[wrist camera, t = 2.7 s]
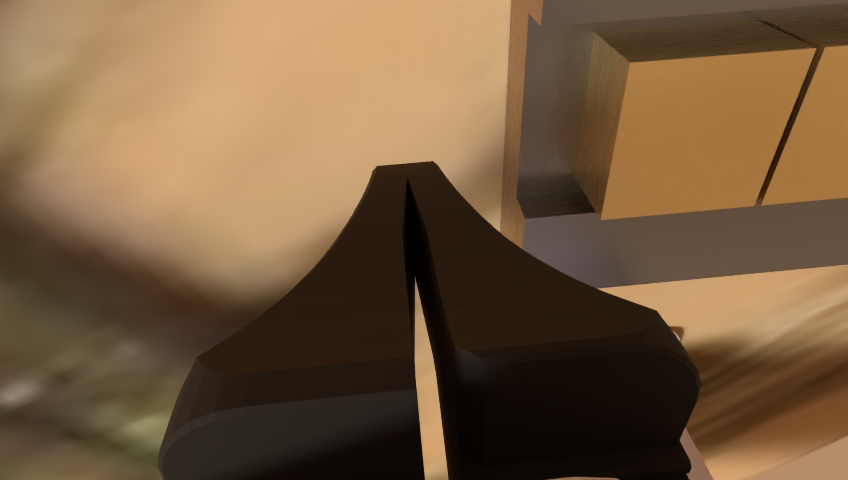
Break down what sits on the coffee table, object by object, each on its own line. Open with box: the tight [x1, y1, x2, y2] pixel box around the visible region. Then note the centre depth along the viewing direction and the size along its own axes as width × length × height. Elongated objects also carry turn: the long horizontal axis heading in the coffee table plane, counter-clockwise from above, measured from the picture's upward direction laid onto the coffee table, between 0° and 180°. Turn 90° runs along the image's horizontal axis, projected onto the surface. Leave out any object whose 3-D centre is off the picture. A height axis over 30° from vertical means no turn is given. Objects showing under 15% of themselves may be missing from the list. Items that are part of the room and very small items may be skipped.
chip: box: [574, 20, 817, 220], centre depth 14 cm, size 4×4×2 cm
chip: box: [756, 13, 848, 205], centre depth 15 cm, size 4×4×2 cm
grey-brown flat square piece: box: [500, 0, 848, 289], centre depth 16 cm, size 12×12×3 cm
